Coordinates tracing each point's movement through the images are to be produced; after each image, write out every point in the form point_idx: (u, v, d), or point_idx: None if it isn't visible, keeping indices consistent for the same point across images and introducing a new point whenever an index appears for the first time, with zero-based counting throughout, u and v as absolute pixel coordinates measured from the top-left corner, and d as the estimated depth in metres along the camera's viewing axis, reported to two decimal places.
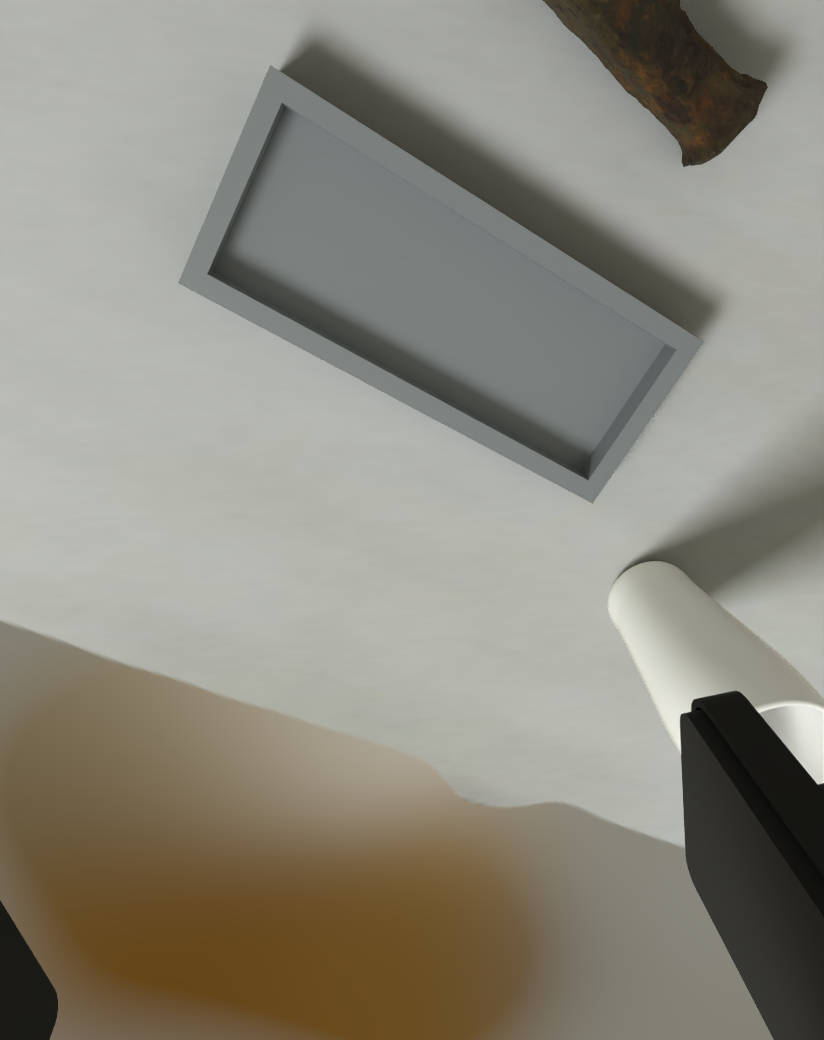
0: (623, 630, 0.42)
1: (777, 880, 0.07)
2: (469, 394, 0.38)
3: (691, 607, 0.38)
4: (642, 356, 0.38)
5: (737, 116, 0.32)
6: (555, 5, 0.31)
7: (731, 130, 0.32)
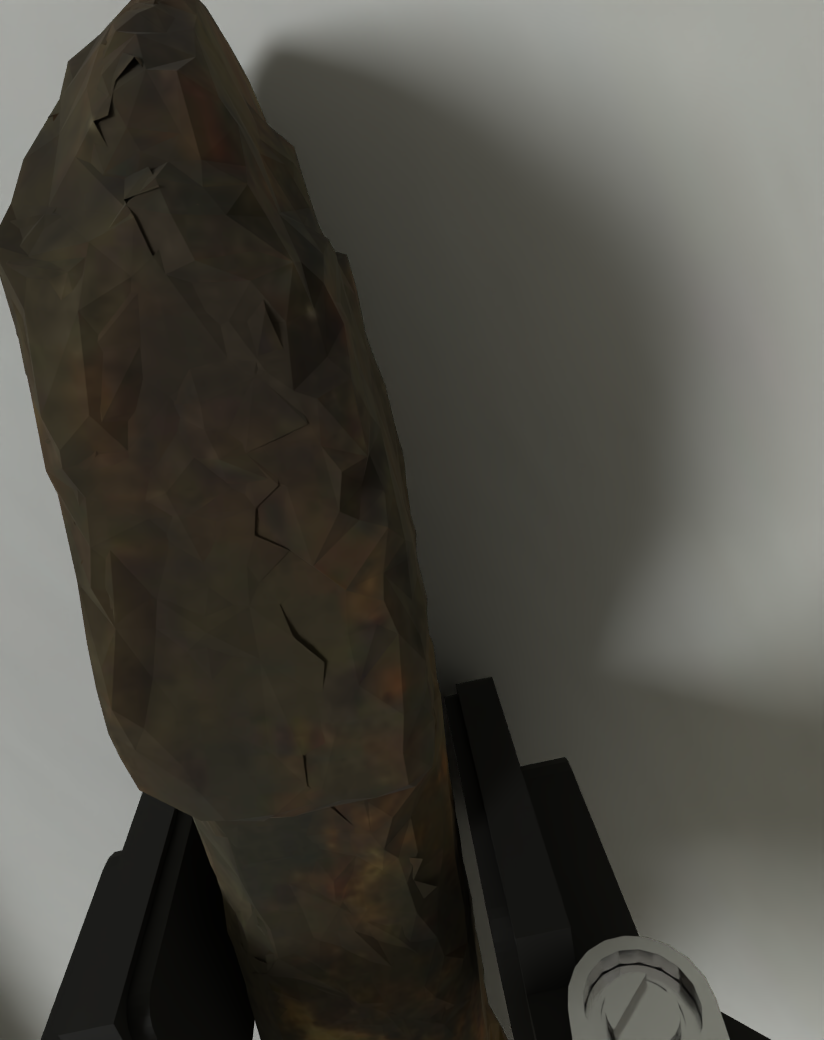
0: None
1: None
2: None
3: None
4: None
5: None
6: None
7: None
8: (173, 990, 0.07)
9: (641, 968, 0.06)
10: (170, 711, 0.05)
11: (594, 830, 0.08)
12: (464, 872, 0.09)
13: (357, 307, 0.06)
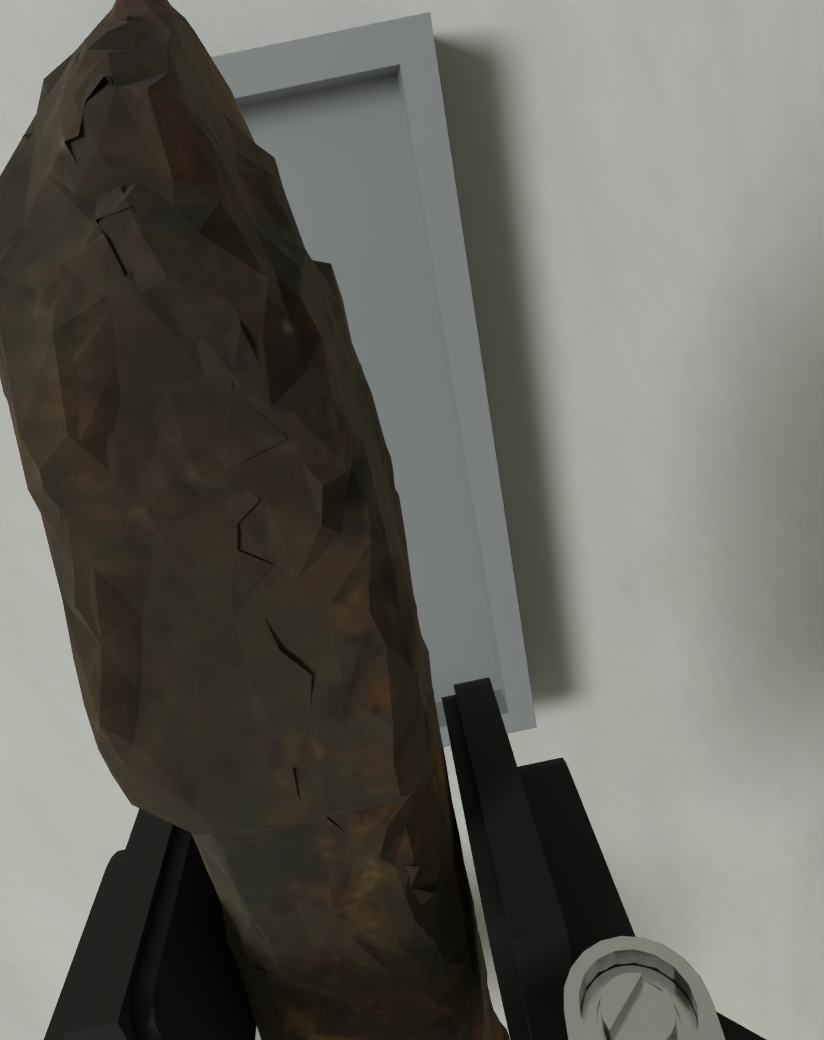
0: None
1: None
2: None
3: None
4: None
5: None
6: None
7: None
8: (177, 989, 0.07)
9: (637, 968, 0.06)
10: (159, 726, 0.05)
11: (591, 830, 0.08)
12: (465, 877, 0.09)
13: (342, 316, 0.06)
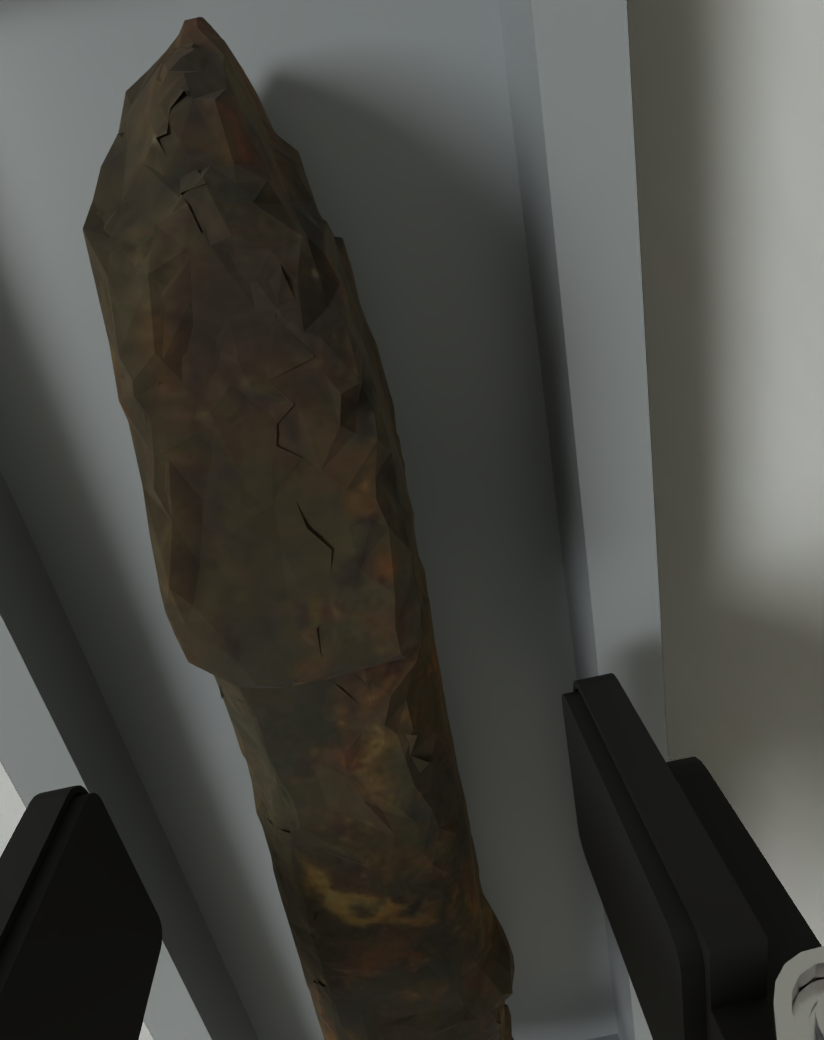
0: None
1: (620, 841, 0.08)
2: (223, 864, 0.14)
3: None
4: (570, 1024, 0.17)
5: None
6: None
7: None
8: None
9: None
10: (213, 591, 0.07)
11: (746, 833, 0.08)
12: (458, 773, 0.11)
13: (352, 279, 0.08)
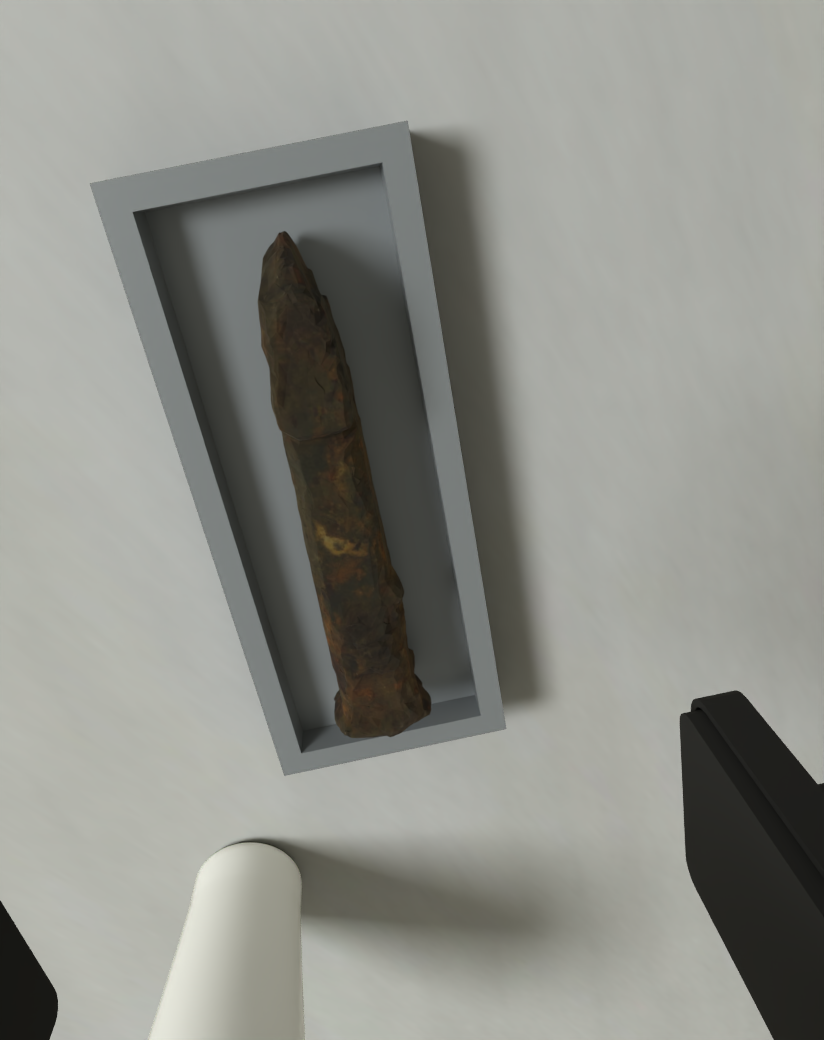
0: (194, 913, 0.33)
1: (777, 880, 0.07)
2: (276, 577, 0.29)
3: (274, 963, 0.30)
4: (449, 687, 0.32)
5: (383, 724, 0.28)
6: None
7: (370, 730, 0.28)
8: None
9: None
10: (289, 403, 0.22)
11: None
12: (377, 506, 0.27)
13: (329, 309, 0.23)
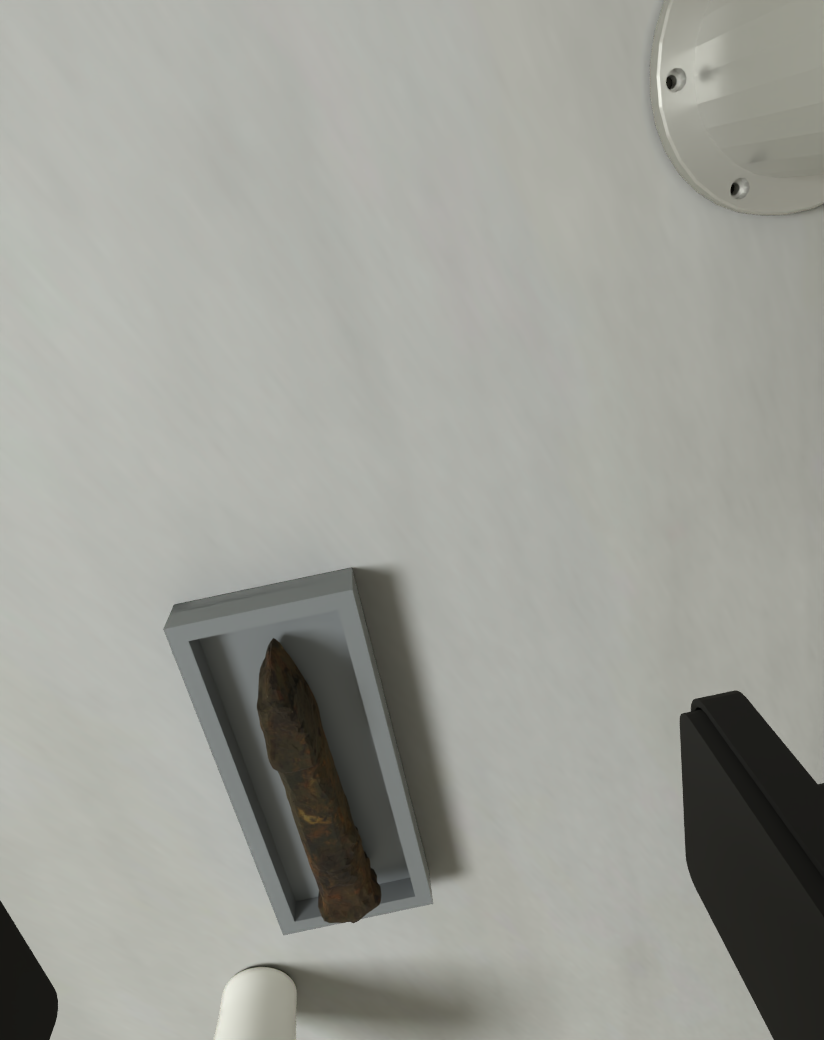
0: (223, 1024, 0.48)
1: (777, 880, 0.07)
2: (276, 813, 0.45)
3: None
4: (395, 872, 0.48)
5: (348, 914, 0.43)
6: None
7: (340, 918, 0.44)
8: None
9: None
10: (277, 757, 0.38)
11: None
12: (338, 786, 0.42)
13: (301, 689, 0.39)
